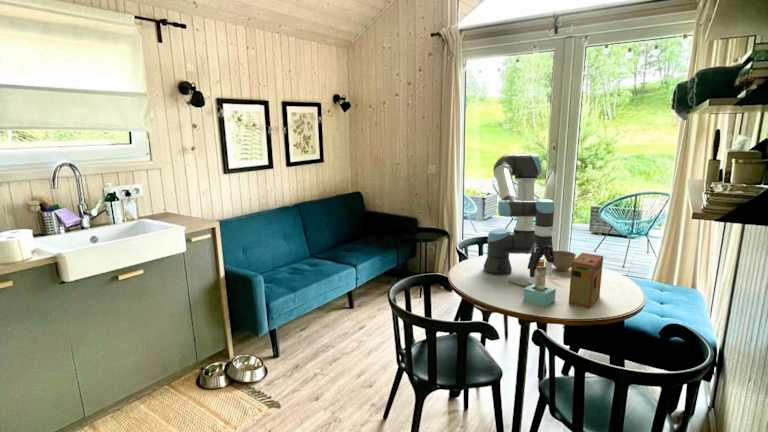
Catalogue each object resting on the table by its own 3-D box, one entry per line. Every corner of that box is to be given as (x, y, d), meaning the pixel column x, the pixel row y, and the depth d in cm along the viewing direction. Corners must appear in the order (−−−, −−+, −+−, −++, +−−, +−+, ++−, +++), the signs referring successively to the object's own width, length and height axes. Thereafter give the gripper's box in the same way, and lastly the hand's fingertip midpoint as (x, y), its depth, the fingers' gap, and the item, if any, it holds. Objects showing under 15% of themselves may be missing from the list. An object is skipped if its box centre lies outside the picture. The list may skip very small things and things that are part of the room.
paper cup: (536, 286, 203) (537, 260, 200) (524, 282, 210) (525, 256, 207) (547, 284, 207) (548, 257, 204) (535, 279, 213) (536, 253, 210)
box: (578, 292, 196) (582, 252, 191) (599, 296, 190) (603, 256, 186) (568, 304, 183) (571, 261, 179) (590, 309, 177) (594, 265, 173)
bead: (523, 300, 188) (524, 288, 186) (534, 294, 194) (535, 282, 193) (544, 307, 180) (544, 294, 179) (554, 300, 187) (555, 288, 185)
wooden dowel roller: (532, 300, 187) (534, 267, 184) (537, 298, 190) (539, 265, 187) (541, 303, 184) (543, 269, 181) (545, 300, 187) (547, 267, 184)
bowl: (576, 268, 229) (577, 251, 227) (572, 275, 218) (574, 257, 216) (552, 264, 235) (553, 248, 233) (547, 271, 225) (549, 253, 223)
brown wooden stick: (508, 282, 210) (508, 280, 209) (509, 282, 210) (509, 280, 210) (527, 288, 202) (527, 286, 202) (528, 287, 202) (528, 285, 202)
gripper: (537, 241, 170) (534, 289, 174) (564, 230, 186) (561, 274, 190) (520, 238, 175) (518, 284, 180) (548, 227, 191) (546, 270, 196)
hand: (540, 279), depth 185 cm, fingers open, 13 cm apart
